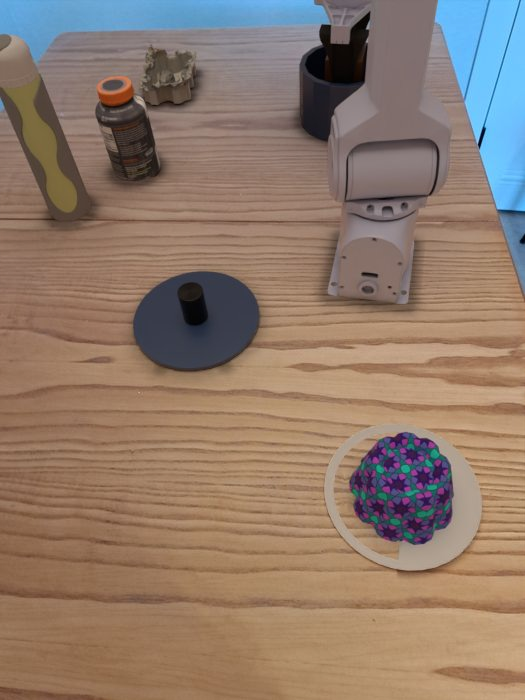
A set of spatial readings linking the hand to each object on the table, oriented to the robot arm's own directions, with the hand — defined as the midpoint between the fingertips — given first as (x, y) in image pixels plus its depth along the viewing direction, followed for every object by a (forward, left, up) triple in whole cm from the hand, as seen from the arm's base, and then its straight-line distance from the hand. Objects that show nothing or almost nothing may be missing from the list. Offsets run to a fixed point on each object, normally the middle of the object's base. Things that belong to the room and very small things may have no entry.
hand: (345, 75), depth 73 cm
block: (0, 0, -1) cm, 1 cm away
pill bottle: (-15, +24, -6) cm, 29 cm away
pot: (0, 0, -6) cm, 6 cm away
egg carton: (+5, +26, -6) cm, 27 cm away
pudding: (-52, -12, -6) cm, 54 cm away
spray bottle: (-24, +29, -6) cm, 38 cm away
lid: (-38, +9, -5) cm, 39 cm away
